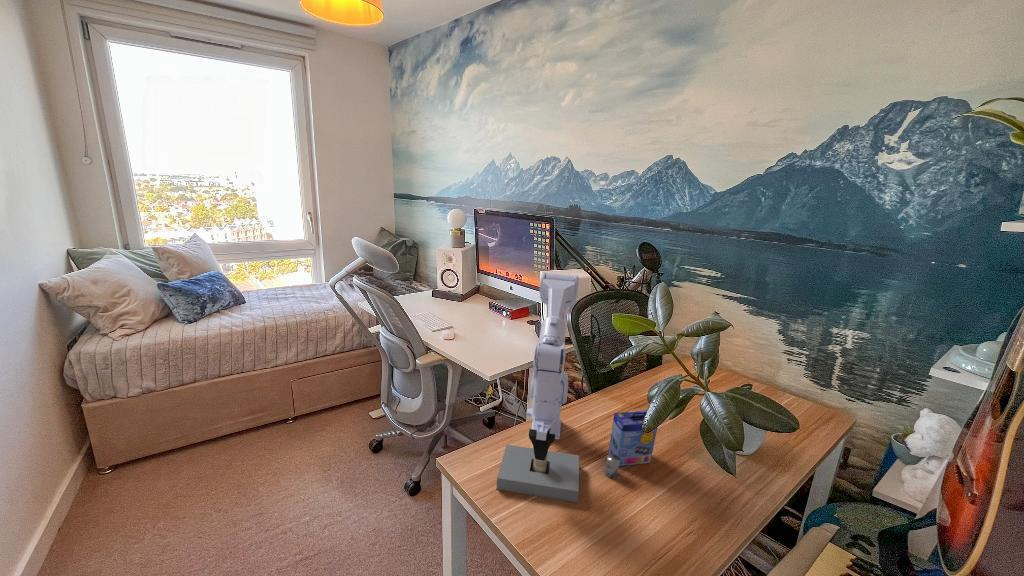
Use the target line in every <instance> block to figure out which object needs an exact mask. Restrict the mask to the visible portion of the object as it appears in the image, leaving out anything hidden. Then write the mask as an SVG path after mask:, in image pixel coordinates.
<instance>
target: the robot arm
mask: <svg viewBox="0 0 1024 576" xmlns="http://www.w3.org/2000/svg"><path fill="white" fill-rule="evenodd" d="M579 281H580V277H579V276H578V275H577V274H575V275H571V274H563V273H560V274H559V273H551V272H546V271H544V272H543V273H541V274H540V282H539V295H540V296H539V297H540V301H541V303H542V304H544V305H546V306H547V317H546V318H544V319H543V320H542V321H541V324H540V331H539V339H538V344H537V345H535V348H534V352H533V354H534V355H533V373H532V379H531V383H530V392H529V393H530V394H529V395H530V398H531V400H532V407H531V408H530V407H529V408H527V409H526V416H528V417H531V420H532V423H531V427H530V428H529V430H528V438H529V440H530V442H531V444H532V447H533V448H532V449H534V455H535V459H537V460H543V461H544V460H545V458H546V455H547V452H548V451H549V449H550V446H551V445H552V444H553V443H554V441H555V440H560V436H561V426H562V419H561V412H562V407H563V406H562V404H563V405H564V404H566V403H567V402H568V401H567V400H568V392H569V391H568V389H569V376H568V375H569V374H568V373H567V372H566V371H564V369H565V364H566V363H565V361H566V360H565V359H566V354H567V353H566V351H567V349H566V332H567V324H566V322H565V315H566V312H567V310H568V308H571V307H573V306H575V303H576V302H577V297H578V291H579V283H580V282H579ZM561 366H562V367H561Z"/></svg>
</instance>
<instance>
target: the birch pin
mask: <svg viewBox="0 0 1024 576" xmlns="http://www.w3.org/2000/svg"><path fill="white" fill-rule="evenodd" d="M547 454H548V452H547ZM546 465H547V455H546V458H545V460H544V461H543V460H537V459H535V455H534V465H533V470H532V472H538V473H544V474H547V472H546Z"/></svg>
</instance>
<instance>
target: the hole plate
mask: <svg viewBox="0 0 1024 576" xmlns="http://www.w3.org/2000/svg"><path fill="white" fill-rule="evenodd" d="M533 465H534V449H533V448H530V447H526V446H525V447H524V446H519V445H512V444H506V446H505V448H504V452H503V455H502V460H501V463H500V467H499V470H498V473H497V477H496V490H499V491H500V490H501V491H506V492H509V493H518V494H522V495H528V496H536V497H540V498H547V499H553V500H557V501H558V500H559V501H565V502H570V503H576V504H577V503H578V500H579V492H580V489H579V488H580V455H577V454H571V453H563V452H557V451H551V450H548V454H547V465H546V474H544V473H538V472H533Z"/></svg>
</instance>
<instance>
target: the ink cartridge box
mask: <svg viewBox="0 0 1024 576" xmlns="http://www.w3.org/2000/svg"><path fill="white" fill-rule="evenodd" d="M647 411H648V410H646V409H645V410H637V411H636V410H635V411H630V412H629V411H622V412H614V413H613V419H612V427H611V433H610V439H609V447H608V455H609V454H614V455H617V456H618V457H619V458H620V463H619V467H621V466H631V465H633V466H634V465H641V464H642V465H643V464H650V463H651V461H652V457H653V456H652V455H653V451H654V446H655V442H656V437H657V433H658V428H659V427H657V428H655V429H654V430H652V431H651V432H649V433H645V432H643V430H642V425H643V420H644V417H645V415H646V413H647Z"/></svg>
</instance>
